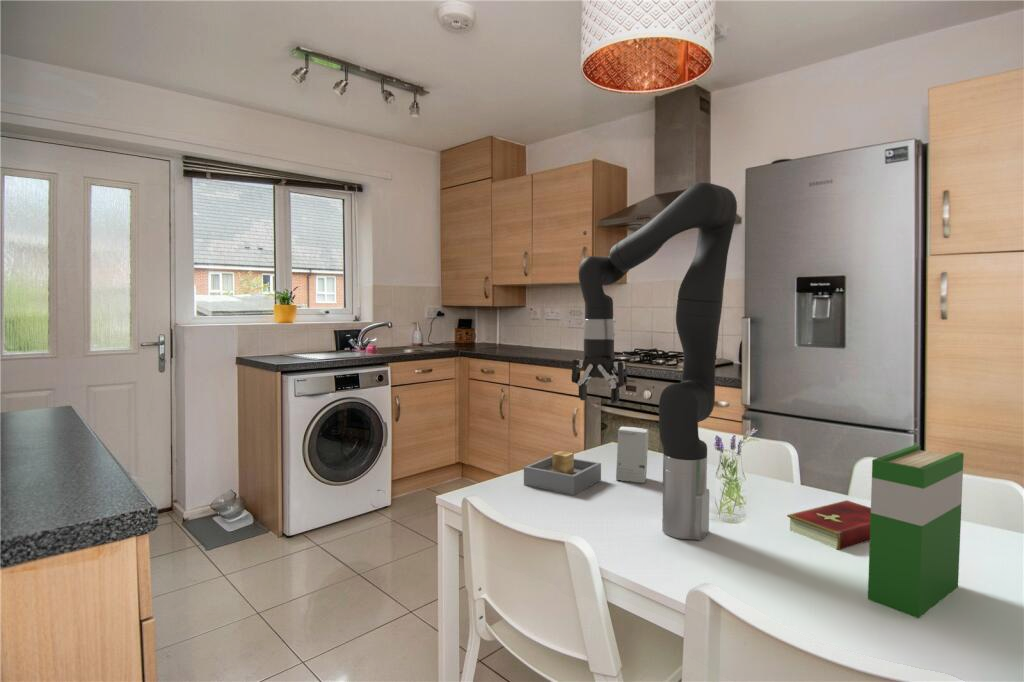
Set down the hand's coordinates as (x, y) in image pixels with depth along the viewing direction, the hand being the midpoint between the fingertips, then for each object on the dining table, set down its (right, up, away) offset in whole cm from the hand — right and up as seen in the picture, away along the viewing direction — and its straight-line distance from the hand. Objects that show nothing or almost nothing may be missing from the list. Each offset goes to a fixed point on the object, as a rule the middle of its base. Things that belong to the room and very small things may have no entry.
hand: (598, 401), depth 143 cm
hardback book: (+48, -29, -44) cm, 71 cm away
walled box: (-7, -25, +19) cm, 32 cm away
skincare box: (+13, -25, +22) cm, 36 cm away
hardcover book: (+51, -28, -17) cm, 61 cm away
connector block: (-7, -25, +19) cm, 32 cm away
